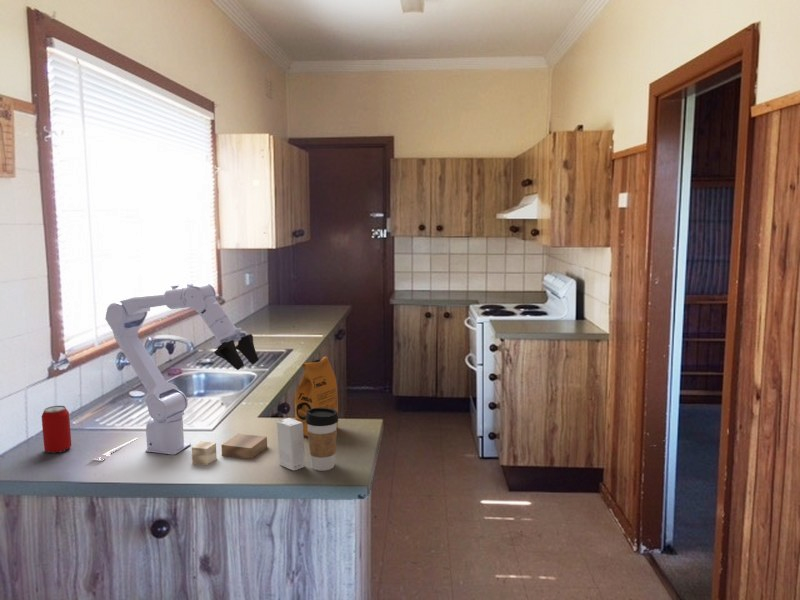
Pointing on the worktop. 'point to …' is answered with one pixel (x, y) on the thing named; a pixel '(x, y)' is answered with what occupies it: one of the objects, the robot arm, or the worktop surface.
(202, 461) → the birch block
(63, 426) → the beverage can
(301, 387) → the coffee package
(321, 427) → the coffee cup
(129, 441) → the fork
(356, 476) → the worktop surface
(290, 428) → the skincare box
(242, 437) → the walnut base
